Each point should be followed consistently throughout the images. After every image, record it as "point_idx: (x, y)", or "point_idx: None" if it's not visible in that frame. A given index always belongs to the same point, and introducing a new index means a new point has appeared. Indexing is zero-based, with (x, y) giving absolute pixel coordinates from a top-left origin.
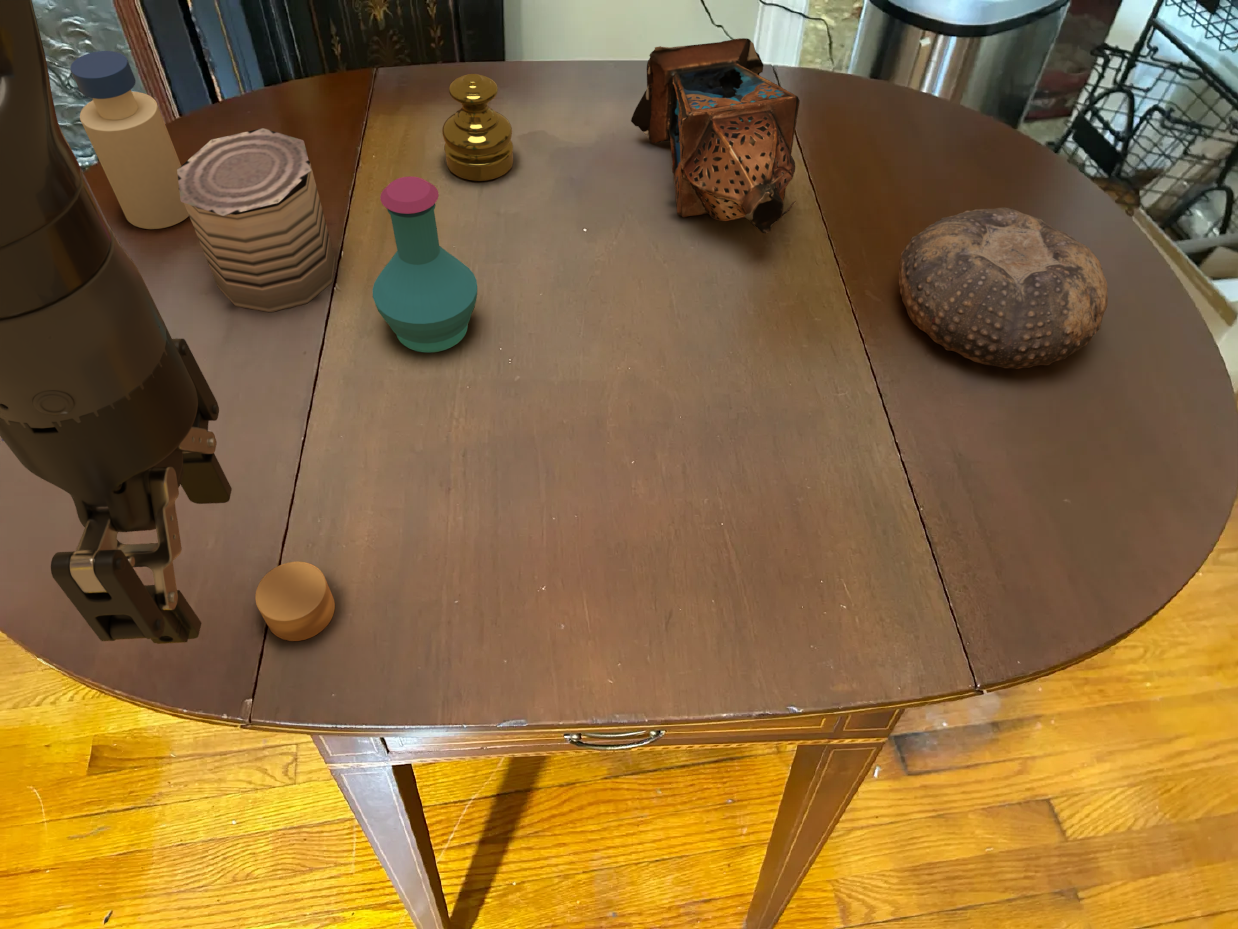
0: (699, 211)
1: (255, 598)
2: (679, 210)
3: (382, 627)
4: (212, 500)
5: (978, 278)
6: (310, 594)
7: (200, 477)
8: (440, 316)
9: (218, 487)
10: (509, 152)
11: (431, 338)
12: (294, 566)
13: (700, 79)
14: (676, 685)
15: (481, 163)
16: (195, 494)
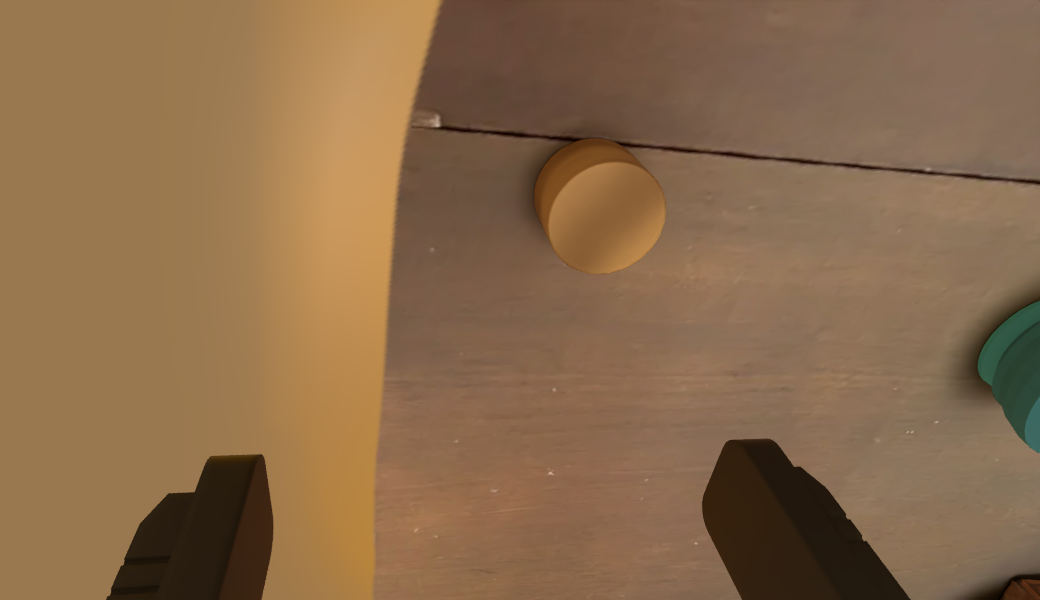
0: (1008, 597)
1: (607, 162)
2: (1023, 585)
3: (533, 306)
4: (718, 485)
5: None
6: (591, 253)
7: (779, 595)
8: (1036, 421)
9: (736, 567)
10: None
11: (1006, 371)
12: (654, 222)
13: None
14: (404, 577)
15: None
16: (746, 487)
